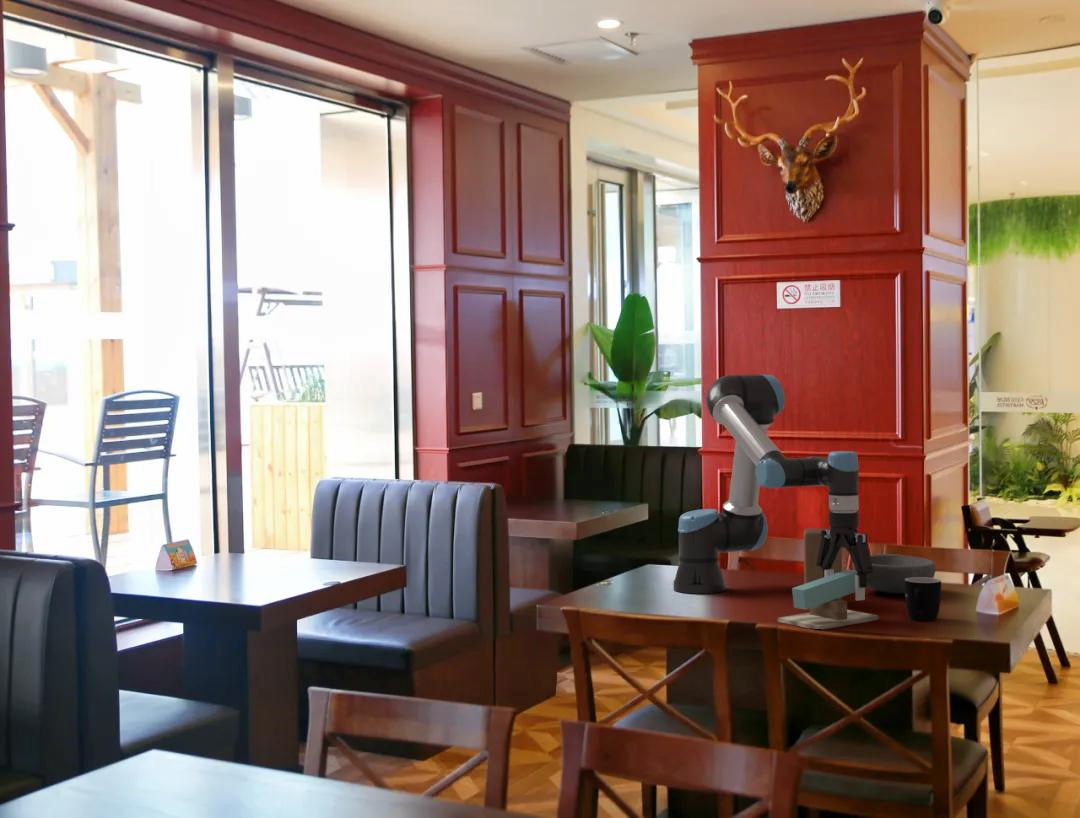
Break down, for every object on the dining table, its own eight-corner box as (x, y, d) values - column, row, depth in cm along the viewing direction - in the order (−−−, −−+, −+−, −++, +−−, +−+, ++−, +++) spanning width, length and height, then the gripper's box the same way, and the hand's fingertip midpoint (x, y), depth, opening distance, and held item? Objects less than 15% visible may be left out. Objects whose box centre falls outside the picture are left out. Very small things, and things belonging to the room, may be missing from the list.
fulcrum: (777, 621, 322) (777, 600, 322) (837, 611, 334) (837, 591, 334) (818, 630, 311) (817, 608, 310) (878, 619, 323) (878, 598, 323)
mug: (909, 614, 329) (909, 576, 329) (945, 617, 324) (944, 578, 324) (897, 622, 318) (897, 582, 318) (933, 625, 314) (933, 585, 314)
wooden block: (842, 606, 342) (841, 532, 342) (804, 605, 344) (804, 532, 344) (841, 599, 352) (840, 528, 352) (804, 599, 354) (803, 528, 354)
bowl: (906, 603, 345) (906, 566, 345) (838, 593, 362) (837, 558, 362) (951, 592, 361) (951, 558, 360) (883, 583, 378) (883, 550, 377)
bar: (794, 607, 318) (791, 588, 318) (849, 587, 329) (847, 569, 329) (805, 609, 315) (803, 590, 315) (860, 590, 326) (858, 571, 325)
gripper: (801, 508, 332) (802, 592, 333) (867, 515, 314) (868, 604, 314) (821, 506, 337) (822, 589, 337) (887, 513, 318) (888, 601, 318)
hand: (844, 597), depth 326 cm, fingers open, 10 cm apart
